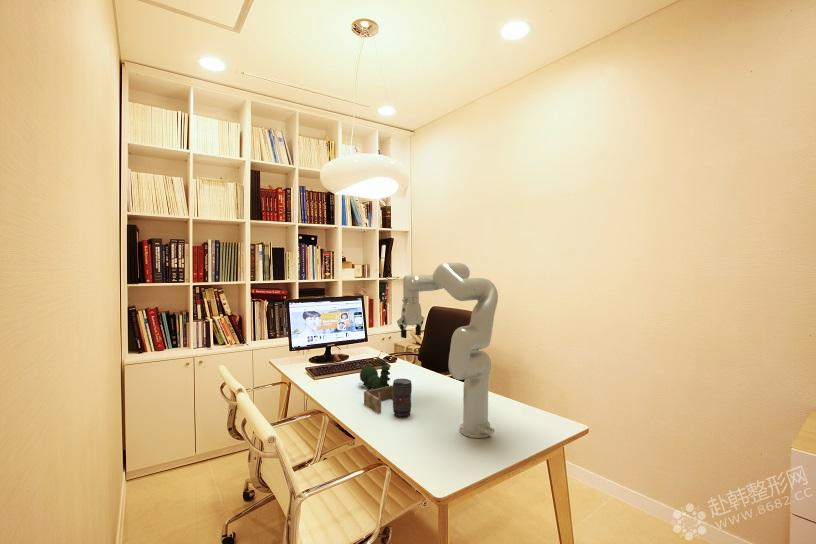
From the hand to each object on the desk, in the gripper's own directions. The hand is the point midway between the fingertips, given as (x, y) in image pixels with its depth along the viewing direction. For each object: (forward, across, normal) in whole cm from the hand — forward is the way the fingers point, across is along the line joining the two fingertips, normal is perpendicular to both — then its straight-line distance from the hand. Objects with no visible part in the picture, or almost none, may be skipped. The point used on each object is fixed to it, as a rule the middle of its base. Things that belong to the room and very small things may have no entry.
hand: (411, 336), depth 180 cm
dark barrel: (+31, -16, -11) cm, 37 cm away
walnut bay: (+30, -14, +2) cm, 34 cm away
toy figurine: (+31, -5, +22) cm, 38 cm away
